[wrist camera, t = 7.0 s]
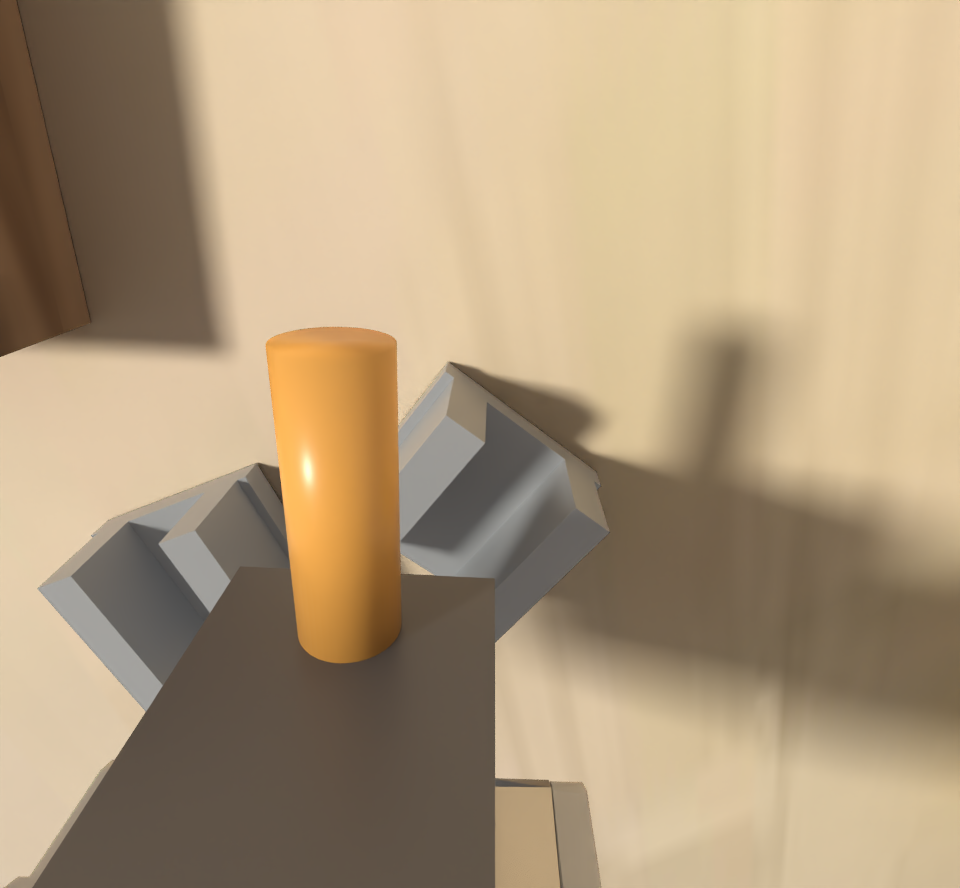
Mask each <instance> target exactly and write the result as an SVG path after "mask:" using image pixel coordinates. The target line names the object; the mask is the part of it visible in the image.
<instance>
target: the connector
mask: <svg viewBox="0 0 960 888" xmlns="http://www.w3.org/2000/svg"><path fill="white" fill-rule="evenodd" d="M266 353H267V362H268V371H269V380H270V389H271V398H272V407H273V416H274V425H275V434H276V443H277V452H278V461H279V470H280V479H281V488H282V497H283V506H284V515H285V524H286V533H287V542H288V551H289V560H290V569H286V568H265V567H244V566H240V567H239V569H238V570H237V572H236V574H235V575H234V577H233V578H232V580H231V581H230V583H229V584H228V586H227V587H226V589H225V591H224V592H223V594H222V595H221V597H220V598H219V600H218V601H217V603H216V604H215V606H214V608H213V609H212V611H211V612H210V614H209V615H208V617H207V618H206V620H205V621H204V623H203V625H202V626H201V628H200V629H199V631H198V632H197V634H196V635H195V637H194V638H193V640H192V642H191V643H190V645H189V646H188V648H187V649H186V651H185V652H184V654H183V655H182V657H181V659H180V660H179V662H178V663H177V665H176V666H175V668H174V669H173V671H172V672H171V674H170V676H169V677H168V679H167V680H166V682H165V683H164V685H163V686H162V688H161V689H160V691H159V693H158V694H157V696H156V697H155V699H154V700H153V702H152V703H151V705H150V706H149V708H148V710H147V711H146V713H145V714H144V716H143V717H142V719H141V720H140V722H139V723H138V725H137V727H136V728H135V730H134V731H133V733H132V734H131V736H130V737H129V739H128V740H127V742H126V744H125V745H124V747H123V748H122V750H121V751H120V753H119V754H118V756H117V757H116V759H115V761H114V762H113V764H112V765H111V767H110V768H109V770H108V771H107V773H106V774H105V776H104V778H103V779H102V781H101V782H100V784H99V785H98V787H97V788H96V790H95V791H94V793H93V795H92V796H91V798H90V799H89V801H88V802H87V804H86V805H85V807H84V808H83V810H82V812H81V813H80V815H79V816H78V818H77V819H76V821H75V822H74V824H73V825H72V827H71V829H70V830H69V832H68V833H67V835H66V836H65V838H64V839H63V841H62V842H61V844H60V846H59V847H58V849H57V850H56V852H55V853H54V855H53V856H52V858H51V859H50V861H49V863H48V864H47V866H46V867H45V869H44V870H43V872H42V873H41V875H40V876H39V878H38V880H37V881H36V883H35V884H34V886H33V887H32V888H495V578H476V577H455V576H434V575H413V574H401V564H400V507H399V450H398V393H397V342H396V340H395V338H393V337H392V336H390V335H388V334H386V333H382V332H379V331H375V330H369V329H362V328H352V327H319V328H308V329H300V330H295V331H290V332H286V333H282V334H279V335H277V336H274V337H272V338H271V339H269V340H268V341H267V342H266Z"/></svg>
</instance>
